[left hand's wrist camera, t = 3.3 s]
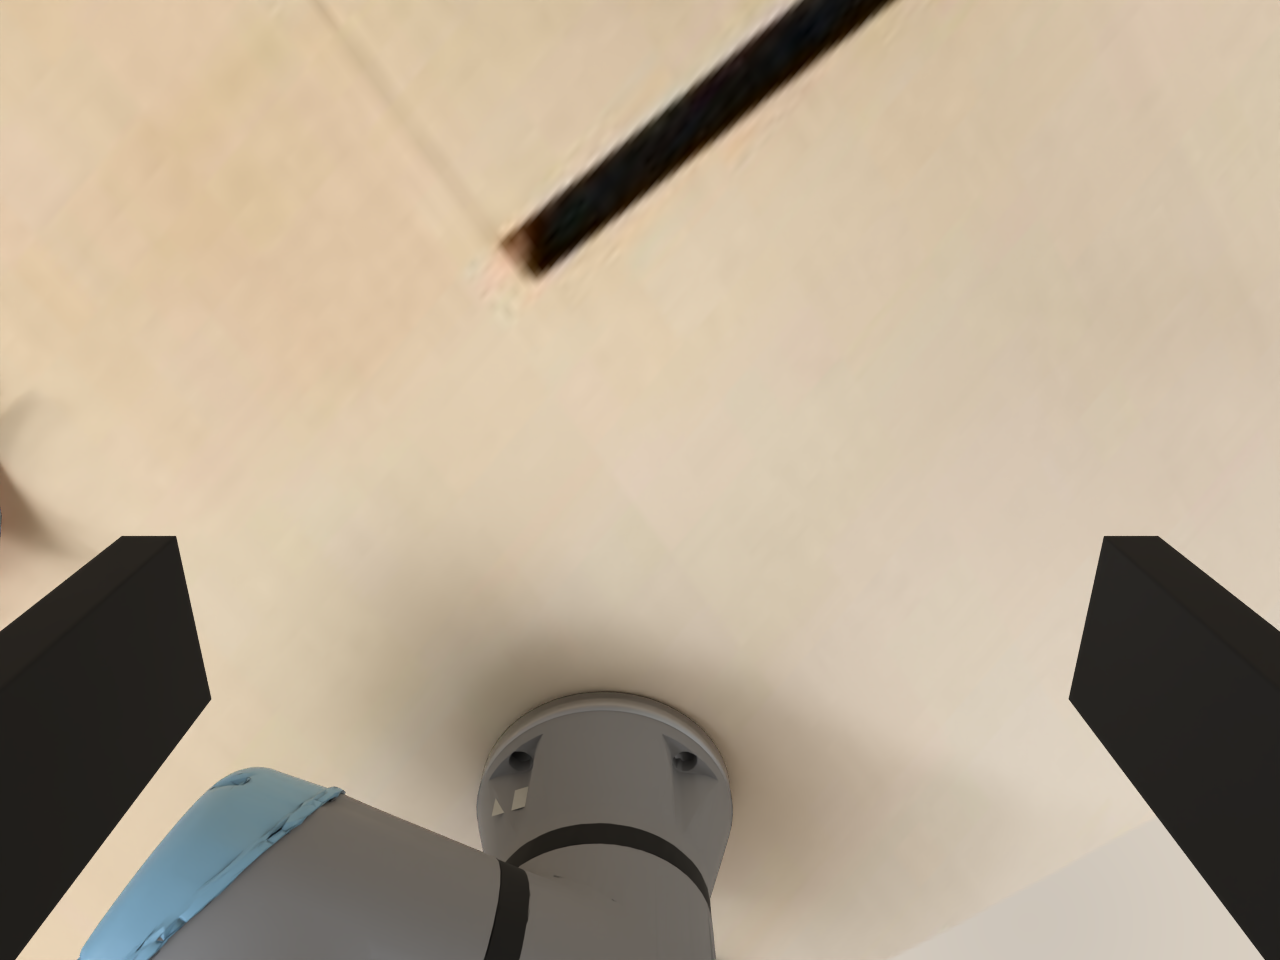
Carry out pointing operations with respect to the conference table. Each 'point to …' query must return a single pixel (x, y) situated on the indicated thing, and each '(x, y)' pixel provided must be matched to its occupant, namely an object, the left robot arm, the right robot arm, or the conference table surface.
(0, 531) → the fish
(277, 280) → the conference table surface
